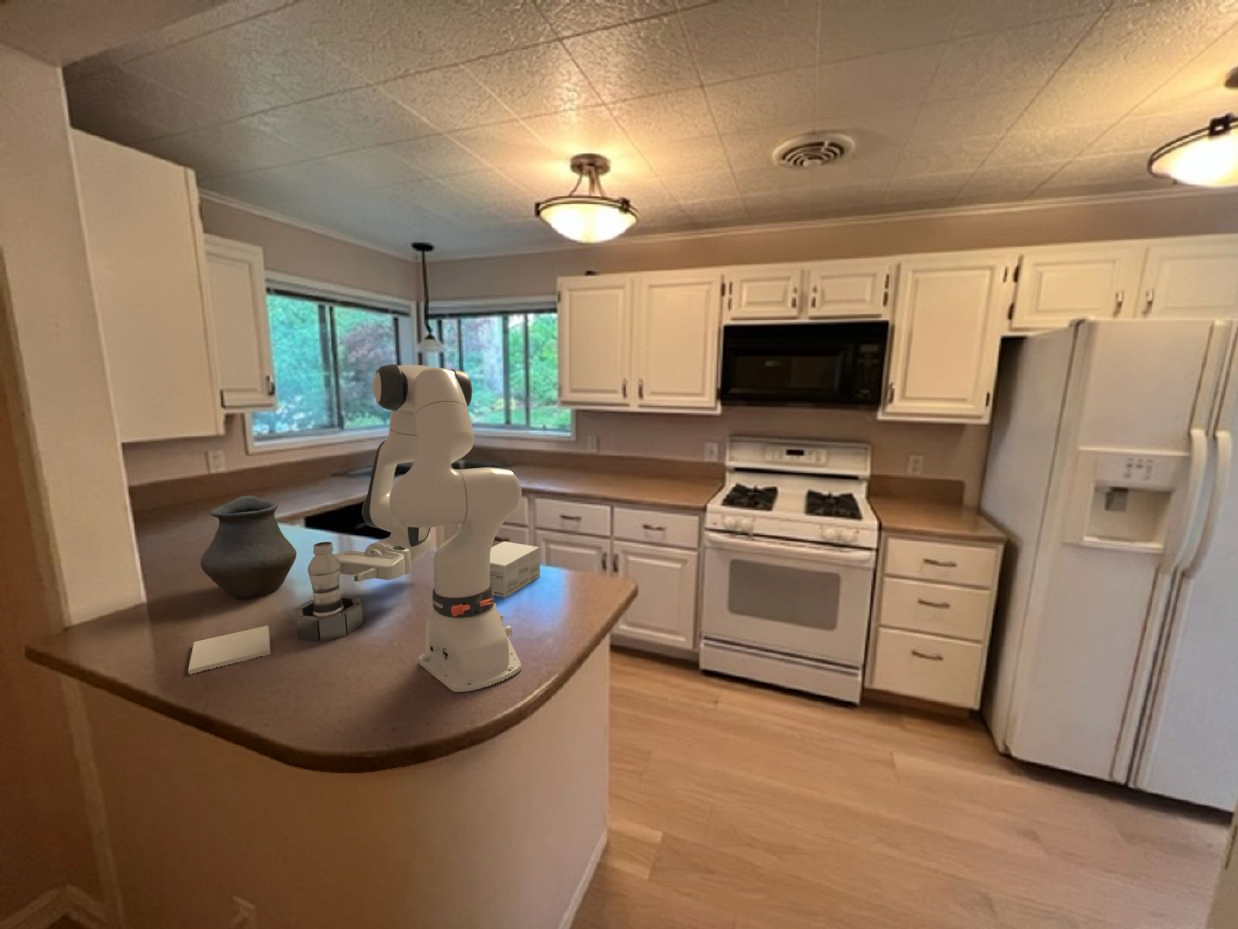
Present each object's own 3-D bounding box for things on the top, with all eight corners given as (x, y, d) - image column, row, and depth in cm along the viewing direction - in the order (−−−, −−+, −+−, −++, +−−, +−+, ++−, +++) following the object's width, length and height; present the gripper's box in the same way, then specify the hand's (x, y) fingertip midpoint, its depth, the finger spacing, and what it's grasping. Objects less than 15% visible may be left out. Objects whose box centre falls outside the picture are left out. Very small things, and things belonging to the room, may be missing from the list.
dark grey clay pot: (202, 615, 121) (189, 515, 117) (207, 586, 138) (197, 498, 134) (302, 595, 133) (293, 504, 129) (296, 570, 150) (288, 489, 146)
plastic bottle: (352, 622, 118) (346, 541, 115) (329, 636, 112) (322, 550, 109) (330, 618, 120) (323, 538, 117) (306, 631, 114) (298, 547, 110)
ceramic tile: (270, 654, 104) (270, 649, 104) (188, 674, 96) (188, 670, 96) (268, 629, 114) (268, 625, 114) (194, 646, 107) (194, 642, 107)
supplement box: (504, 570, 154) (503, 540, 152) (540, 577, 148) (540, 546, 147) (466, 589, 138) (465, 557, 137) (505, 598, 133) (504, 564, 132)
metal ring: (366, 630, 115) (364, 609, 114) (299, 647, 107) (296, 625, 106) (356, 609, 125) (354, 590, 124) (294, 623, 117) (292, 603, 117)
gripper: (349, 542, 133) (304, 559, 120) (414, 549, 128) (374, 568, 115) (351, 564, 134) (306, 583, 121) (415, 573, 129) (376, 594, 116)
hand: (340, 576), depth 118 cm, fingers open, 8 cm apart
